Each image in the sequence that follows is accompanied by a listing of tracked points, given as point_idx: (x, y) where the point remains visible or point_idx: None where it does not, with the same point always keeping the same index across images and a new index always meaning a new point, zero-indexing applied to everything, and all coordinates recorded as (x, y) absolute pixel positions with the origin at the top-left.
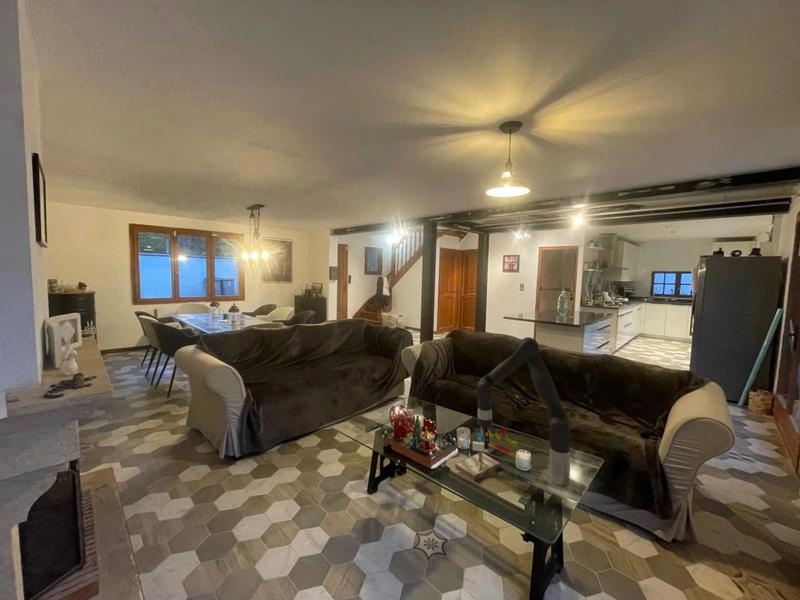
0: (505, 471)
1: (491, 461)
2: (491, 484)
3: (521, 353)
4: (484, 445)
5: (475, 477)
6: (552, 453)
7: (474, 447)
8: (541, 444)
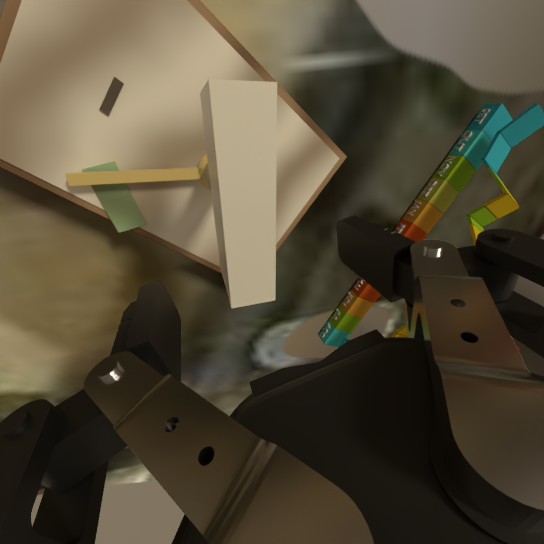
0: (218, 301)
1: None
2: (44, 264)
3: None
4: (136, 317)
5: None
6: None
7: (205, 121)
8: None
